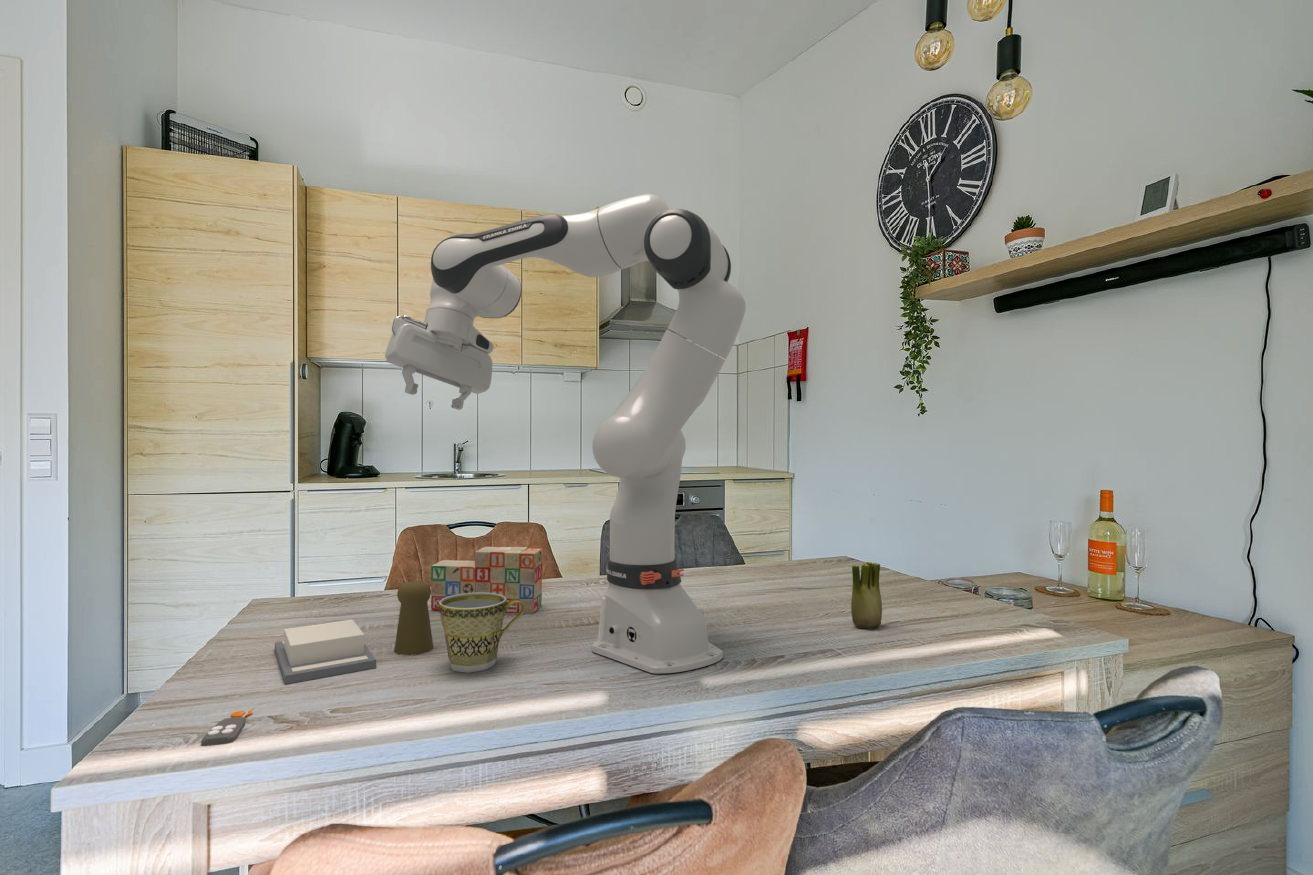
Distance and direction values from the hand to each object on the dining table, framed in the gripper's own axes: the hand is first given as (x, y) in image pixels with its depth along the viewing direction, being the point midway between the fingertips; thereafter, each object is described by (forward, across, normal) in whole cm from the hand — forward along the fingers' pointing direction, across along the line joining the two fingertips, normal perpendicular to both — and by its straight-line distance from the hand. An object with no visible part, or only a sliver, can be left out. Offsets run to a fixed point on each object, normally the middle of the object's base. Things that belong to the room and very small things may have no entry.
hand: (434, 401), depth 121 cm
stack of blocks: (+36, +24, +8) cm, 44 cm away
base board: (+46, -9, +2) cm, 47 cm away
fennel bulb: (+33, +65, -54) cm, 90 cm away
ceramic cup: (+44, +6, -19) cm, 48 cm away
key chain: (+52, -24, -14) cm, 59 cm away
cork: (+44, +2, -4) cm, 44 cm away
